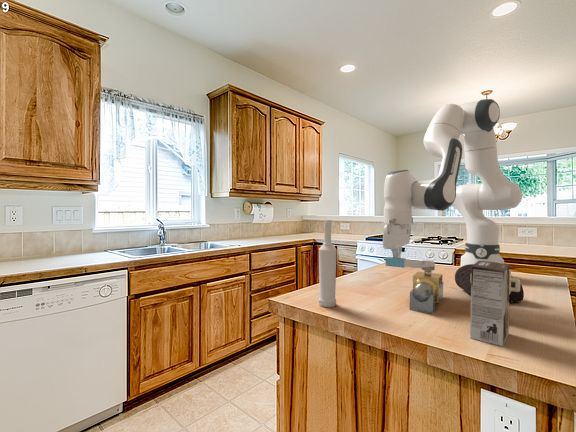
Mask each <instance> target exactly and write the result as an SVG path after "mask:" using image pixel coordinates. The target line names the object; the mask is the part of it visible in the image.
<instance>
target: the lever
mask: <svg viewBox="0 0 576 432" xmlns="http://www.w3.org/2000/svg"><path fill="white" fill-rule="evenodd" d="M435 262H436V261H433V260H423V259H422V260H418V259H417V260H416V259H407V258H405V257H401V258H396V257H393V256H387V257H385V267H393V268H402V269H403V268H413V269H421V271H422V270H423V271H424V270H429V271H432V272H433V271H435V269H436V268H435V266H436V263H435Z"/></svg>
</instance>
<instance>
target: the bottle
mask: <svg viewBox="0 0 576 432" xmlns="http://www.w3.org/2000/svg"><path fill="white" fill-rule="evenodd" d="M323 222H324V224H323V225H324V237H323V239H324V241H323V243H322V245H321V246H320V247H319V248H318V273H319V276H318V281H319V283H318V284H319V289H318V291H319V293H318V294H319V298H318V304H319V306H320V307H323V308H334V307H336V305H337V298H336V284H337V283H336V282H337V281H336V280H337V278H336V277H337V252H338V251H337V249H338V248H336V247H335V246H334V245H333V243H332V220H331V219H325V220H324V221H323Z"/></svg>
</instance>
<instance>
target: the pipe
mask: <svg viewBox="0 0 576 432" xmlns="http://www.w3.org/2000/svg"><path fill="white" fill-rule="evenodd" d="M472 265H474V264H469V265H464V266H462V267H461V266H459V268H458V269H457V270H456V271H455V273H454V281H455V284H456V285H457V287H459V288H460V289H462V290H463V291H465V292H466V293H467V294H468V295H469V296H470V297H471V266H472ZM515 284H516V283H515V282H511V287H513V288H515ZM524 297H525V293H524V288H523V285H522V284H521V283H520V292H514V291H511V293H510V295H509V303H519V302H522V301H523V300H524Z"/></svg>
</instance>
